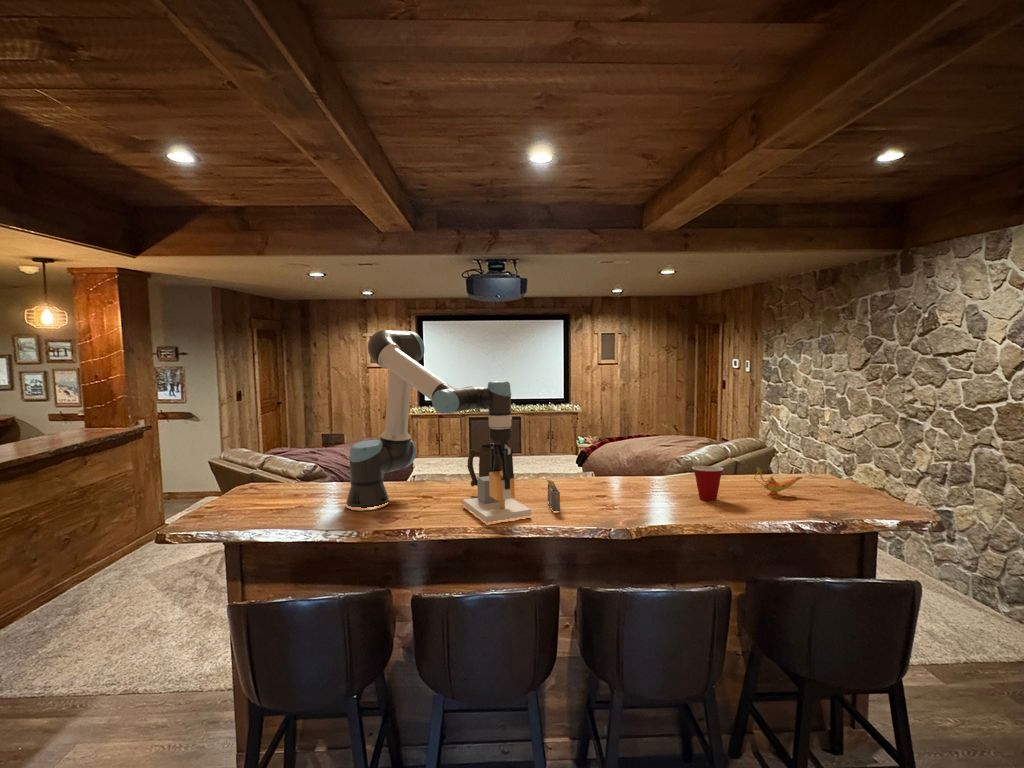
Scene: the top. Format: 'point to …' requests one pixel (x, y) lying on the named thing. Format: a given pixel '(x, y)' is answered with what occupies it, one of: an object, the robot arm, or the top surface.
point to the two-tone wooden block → (499, 485)
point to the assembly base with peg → (494, 505)
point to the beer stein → (480, 462)
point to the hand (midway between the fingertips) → (502, 496)
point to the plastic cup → (708, 481)
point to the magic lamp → (776, 485)
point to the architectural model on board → (553, 496)
